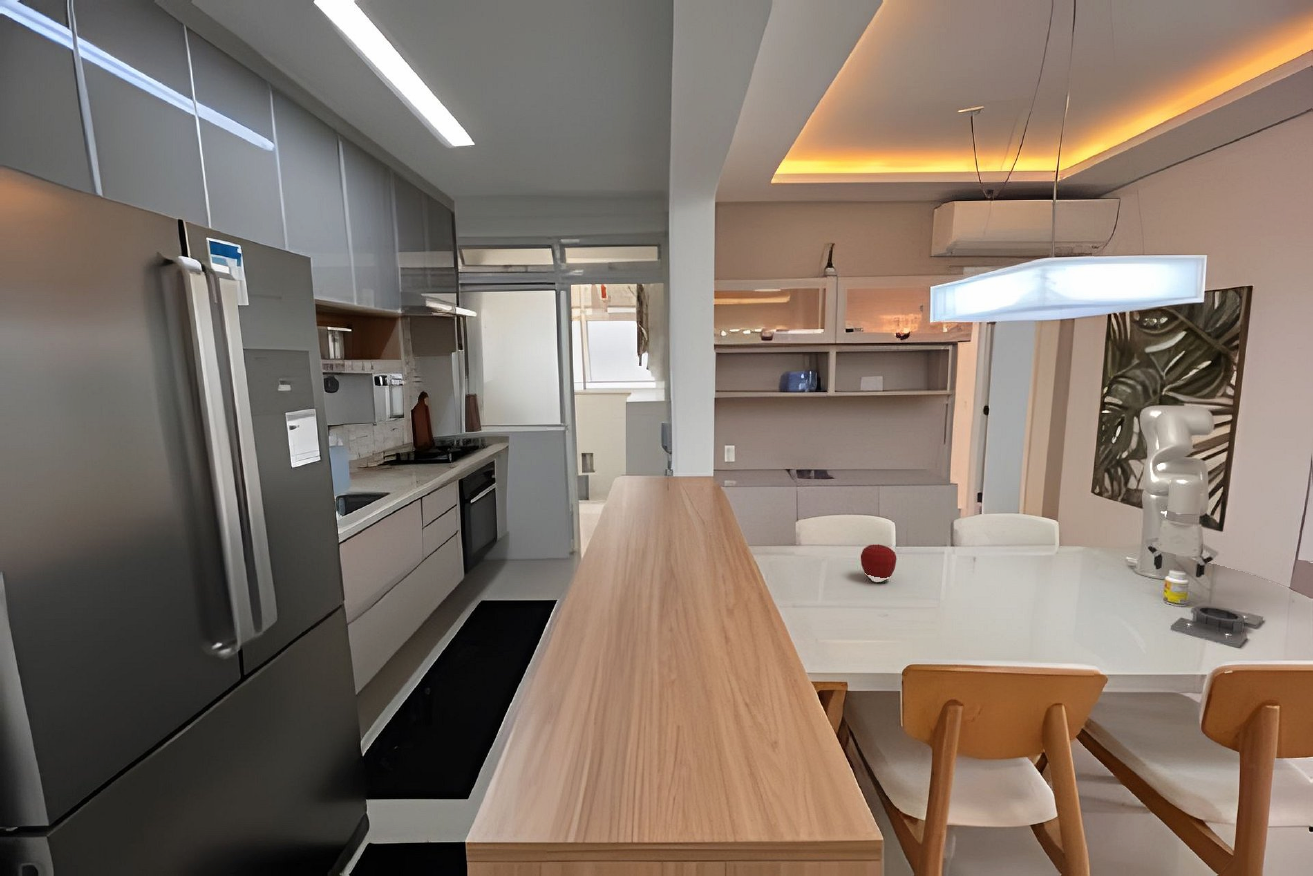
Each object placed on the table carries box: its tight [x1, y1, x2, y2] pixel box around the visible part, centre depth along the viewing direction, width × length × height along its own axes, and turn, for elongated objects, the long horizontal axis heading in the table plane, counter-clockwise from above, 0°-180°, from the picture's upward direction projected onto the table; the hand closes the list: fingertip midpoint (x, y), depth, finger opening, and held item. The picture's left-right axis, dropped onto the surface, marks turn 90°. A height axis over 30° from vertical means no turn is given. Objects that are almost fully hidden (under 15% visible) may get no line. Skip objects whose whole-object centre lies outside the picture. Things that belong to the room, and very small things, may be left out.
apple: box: [860, 543, 898, 578], centre depth 210 cm, size 12×12×13 cm
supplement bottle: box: [1163, 569, 1190, 608], centre depth 186 cm, size 6×6×10 cm
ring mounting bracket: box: [1170, 601, 1264, 649], centre depth 171 cm, size 28×14×4 cm, turn 126°
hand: (1178, 572), depth 185 cm, fingers open, 9 cm apart
